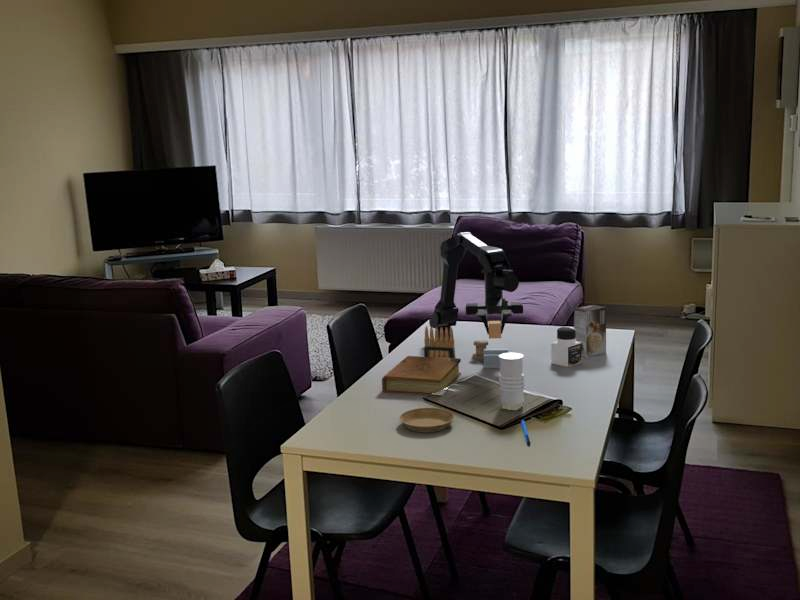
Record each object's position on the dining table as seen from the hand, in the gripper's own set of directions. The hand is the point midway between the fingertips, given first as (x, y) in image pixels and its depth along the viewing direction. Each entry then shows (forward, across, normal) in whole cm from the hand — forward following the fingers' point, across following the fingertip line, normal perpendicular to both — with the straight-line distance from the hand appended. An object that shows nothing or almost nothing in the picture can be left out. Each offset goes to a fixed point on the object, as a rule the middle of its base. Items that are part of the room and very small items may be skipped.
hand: (494, 333), depth 282 cm
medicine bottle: (+10, +23, -1) cm, 25 cm away
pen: (+11, +6, -64) cm, 66 cm away
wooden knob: (+10, -5, +8) cm, 13 cm away
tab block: (+1, 0, 0) cm, 1 cm away
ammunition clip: (+10, -19, +4) cm, 22 cm away
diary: (+11, -23, -20) cm, 32 cm away
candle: (+11, +4, -44) cm, 46 cm away
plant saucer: (+11, -19, -58) cm, 62 cm away
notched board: (+10, 0, 0) cm, 10 cm away
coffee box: (+10, +32, +11) cm, 36 cm away
